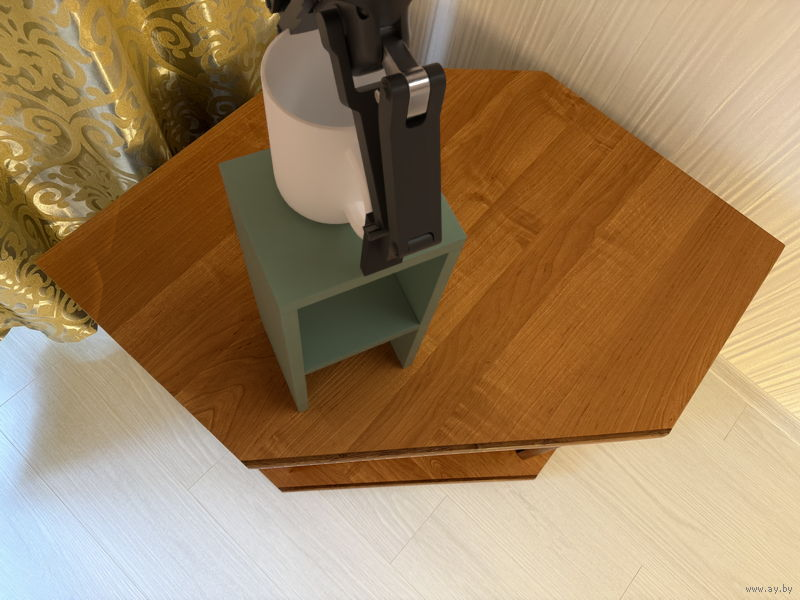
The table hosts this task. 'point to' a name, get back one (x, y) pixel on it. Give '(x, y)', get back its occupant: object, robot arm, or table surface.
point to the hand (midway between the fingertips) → (342, 188)
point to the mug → (313, 132)
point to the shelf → (329, 279)
